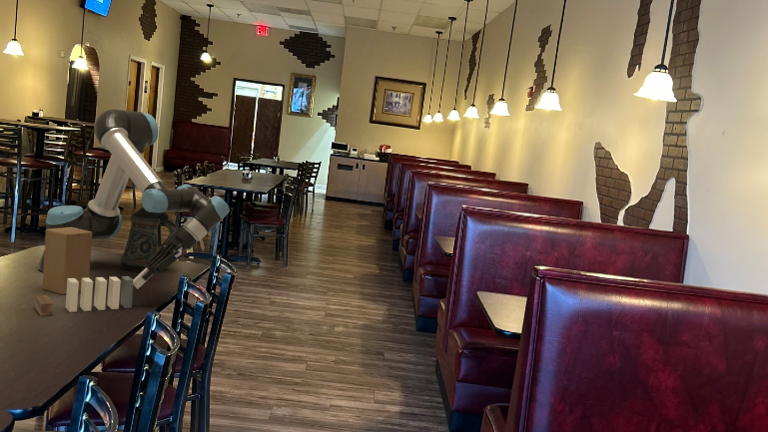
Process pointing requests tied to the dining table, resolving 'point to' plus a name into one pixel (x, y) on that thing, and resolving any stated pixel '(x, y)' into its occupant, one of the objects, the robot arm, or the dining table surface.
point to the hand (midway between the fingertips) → (134, 285)
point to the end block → (43, 305)
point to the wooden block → (66, 257)
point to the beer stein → (145, 239)
